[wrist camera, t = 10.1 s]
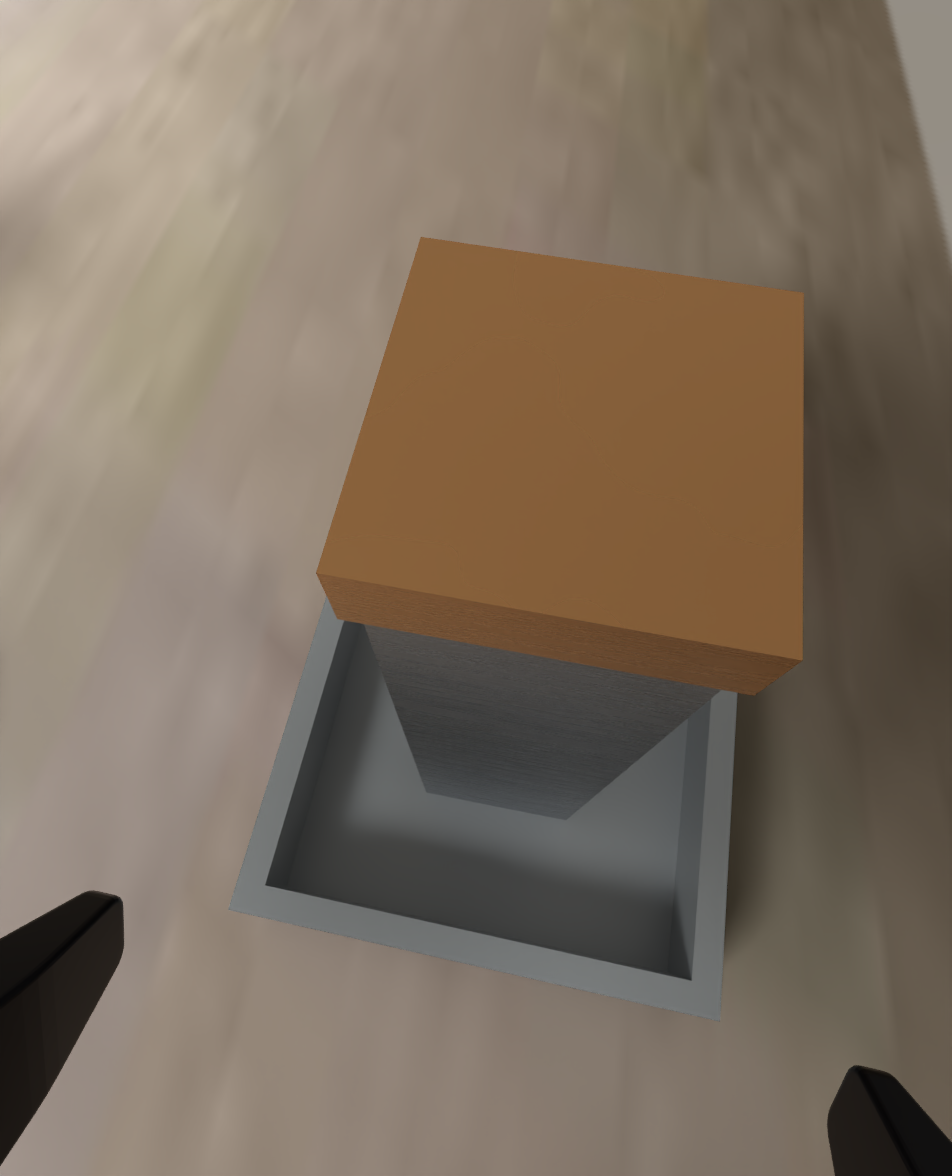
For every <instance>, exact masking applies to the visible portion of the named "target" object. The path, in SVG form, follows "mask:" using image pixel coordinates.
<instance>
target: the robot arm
mask: <svg viewBox="0 0 952 1176" xmlns="http://www.w3.org/2000/svg"><path fill="white" fill-rule="evenodd" d="M123 949H124V917H123V902H122V900H121V898H120V897H118V896H116V895H112V894H108V893H103V892H99V891H87V892H84V893H82V894H80V895H78V896H76V897H75V898H73V899H71V900H69V901H67V902H65V903H64V904H62V905H60V906H58V907H56V908H55V909H53V910H51V911H49V912H47V913H46V914H44V915H42V916H40V917H38V918H37V919H35V920H33V921H31V922H29V923H28V924H26V925H24V926H22V927H20V928H19V929H17V930H15V931H13V932H11V933H10V934H8V935H6V936H4V937H2V938H0V1166H1V1164H2V1163H3V1161H4V1160H5V1158H6V1157H7V1155H8V1154H9V1152H10V1151H11V1149H12V1148H13V1146H14V1145H15V1143H16V1142H17V1140H18V1139H19V1137H20V1136H21V1134H22V1133H23V1131H24V1130H25V1128H26V1127H27V1125H28V1124H29V1122H30V1121H31V1119H32V1118H33V1116H34V1114H35V1113H36V1111H37V1110H38V1108H39V1107H40V1105H41V1103H42V1102H43V1100H44V1099H45V1097H46V1096H47V1094H48V1092H49V1090H50V1089H51V1087H52V1085H53V1083H54V1082H55V1080H56V1078H57V1076H58V1075H59V1073H60V1071H61V1069H62V1068H63V1066H64V1064H65V1062H66V1060H67V1058H68V1056H69V1055H70V1053H71V1051H72V1049H73V1047H74V1045H75V1044H76V1042H77V1040H78V1038H79V1036H80V1034H81V1033H82V1031H83V1029H84V1027H85V1025H86V1023H87V1022H88V1020H89V1018H90V1016H91V1014H92V1012H93V1011H94V1009H95V1007H96V1005H97V1003H98V1001H99V1000H100V998H101V996H102V994H103V992H104V990H105V988H106V987H107V985H108V983H109V981H110V979H111V977H112V976H113V974H114V972H115V970H116V968H117V966H118V964H119V962H120V959H121V957H122V953H123ZM827 1129H828V1138H829V1143H830V1149H831V1155H832V1161H833V1167H834V1173H835V1176H952V1142H951V1141H950V1140H949V1139H948V1138H947V1136H946V1135H945V1134H944V1133H943V1132H942V1131H941V1130H940V1128H939V1127H938V1126H937V1125H936V1124H935V1123H934V1122H933V1120H932V1119H931V1118H930V1117H929V1116H928V1115H927V1114H926V1112H925V1111H924V1110H923V1109H922V1108H921V1107H920V1105H919V1104H918V1103H917V1102H916V1101H915V1100H914V1099H913V1097H912V1096H911V1095H910V1094H909V1093H908V1092H907V1091H906V1089H905V1088H904V1087H903V1086H902V1085H901V1084H900V1083H899V1081H898V1080H897V1079H896V1078H894V1077H893V1076H892V1075H891V1074H889V1073H887V1072H885V1071H881V1070H877V1069H873V1068H868V1067H864V1066H859V1065H855V1066H853V1067H851V1068H850V1069H849V1070H848V1071H847V1073H846V1075H845V1078H844V1080H843V1082H842V1084H841V1086H840V1088H839V1090H838V1092H837V1094H836V1097H835V1099H834V1101H833V1103H832V1105H831V1107H830V1110H829V1114H828V1121H827Z"/></svg>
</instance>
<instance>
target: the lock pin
mask: <svg viewBox="0 0 952 1176" xmlns="http://www.w3.org/2000/svg"><path fill="white" fill-rule="evenodd" d="M803 399H804V293H801V292H794V291H787V290H780V289H773V288H767V287H760V286H753V285H746V284H739V283H732V282H726V281H719V280H712V279H705V278H698V277H691V276H684V275H678V274H671V273H664V272H657V271H650V270H643V269H637V268H630V267H623V266H616V265H609V264H602V263H595V262H589V261H582V260H575V259H568V258H561V257H554V256H548V255H541V254H534V253H527V252H520V251H513V250H506V249H500V248H493V247H486V246H479V245H472V244H465V243H459V242H452V241H445V240H438V239H431V238H424V237H421V238H420V242H419V245H418V248H417V251H416V254H415V258H414V261H413V264H412V267H411V271H410V274H409V277H408V280H407V283H406V287H405V290H404V293H403V296H402V299H401V303H400V306H399V309H398V312H397V315H396V319H395V322H394V325H393V328H392V331H391V335H390V338H389V341H388V344H387V347H386V351H385V354H384V357H383V360H382V363H381V367H380V370H379V373H378V376H377V379H376V383H375V386H374V389H373V392H372V395H371V399H370V402H369V405H368V408H367V412H366V415H365V418H364V421H363V424H362V428H361V431H360V434H359V437H358V440H357V444H356V447H355V450H354V453H353V456H352V460H351V463H350V466H349V469H348V472H347V476H346V479H345V482H344V485H343V488H342V492H341V495H340V498H339V501H338V504H337V508H336V511H335V514H334V517H333V520H332V524H331V527H330V530H329V533H328V537H327V540H326V543H325V546H324V549H323V553H322V556H321V559H320V562H319V565H318V569H317V572H316V574H317V576H318V578H319V580H320V582H321V585H322V587H323V589H324V591H325V593H326V596H327V598H328V600H329V602H330V604H331V606H332V609H333V611H334V613H335V615H336V617H337V619H339V620H345V621H350V622H356V623H361V624H364V627H365V629H366V632H367V635H368V637H369V640H370V643H371V645H372V648H373V651H374V653H375V656H376V659H377V661H378V664H379V667H380V669H381V672H382V675H383V678H384V680H385V683H386V686H387V688H388V691H389V694H390V696H391V699H392V702H393V704H394V707H395V710H396V712H397V715H398V718H399V720H400V723H401V726H402V729H403V731H404V734H405V737H406V739H407V742H408V745H409V747H410V750H411V753H412V755H413V758H414V761H415V763H416V766H417V769H418V771H419V774H420V777H421V780H422V782H423V785H424V788H425V790H426V793H430V794H436V795H441V796H446V797H451V798H456V799H461V800H466V801H471V802H476V803H481V804H486V805H491V806H496V807H501V808H506V809H511V810H516V811H521V812H526V813H531V814H536V815H541V816H546V817H551V818H556V819H561V820H567V819H568V818H569V817H571V816H572V815H573V814H574V813H575V812H577V811H578V810H579V809H580V808H581V807H583V806H584V805H585V804H586V803H587V802H589V801H590V800H591V799H592V798H593V797H595V796H596V795H597V794H598V793H599V792H600V791H602V790H603V789H604V788H605V787H606V786H608V785H609V784H610V783H611V782H612V781H614V780H615V779H616V778H617V777H618V776H620V775H621V774H622V773H623V772H624V771H626V770H627V769H628V768H629V767H630V766H631V765H633V764H634V763H635V762H636V761H637V760H639V759H640V758H641V757H642V756H643V755H645V754H646V753H647V752H648V751H649V750H651V749H652V748H653V747H654V746H655V745H657V744H658V743H659V742H660V741H661V740H662V739H664V738H665V737H666V736H667V735H668V734H670V733H671V732H672V731H673V730H674V729H676V728H677V727H678V726H679V725H680V724H682V723H683V722H684V721H685V720H686V719H688V718H689V717H690V716H691V715H692V714H693V713H695V712H696V711H697V710H698V709H699V708H701V707H702V706H703V705H704V704H705V703H707V702H708V701H709V700H710V699H711V698H713V697H714V696H715V695H716V694H717V693H719V692H720V691H721V690H725V691H731V692H736V693H742V694H747V695H752V696H754V695H756V694H757V693H758V692H760V691H761V690H763V689H764V688H765V687H767V686H768V685H769V684H771V683H772V682H774V681H775V680H776V679H778V678H779V677H781V676H782V675H783V674H785V673H786V672H787V671H789V670H790V669H792V668H793V667H794V666H796V665H797V664H798V663H800V662H801V661H803Z"/></svg>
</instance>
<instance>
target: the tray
mask: <svg viewBox="0 0 952 1176" xmlns="http://www.w3.org/2000/svg"><path fill="white" fill-rule="evenodd" d="M736 710H737V693H736V692H731V691H725V690H721V691H720V692H719V693H717V694H716V695H715V696H714V697H713V698H711V699H710V700H709V701H708V702H707V703H705V704H704V705H703V706H702V707H701V708H699V709H698V710H697V711H696V712H695V713H693V714H692V715H691V716H690V717H689V718H688V719H686V720H685V721H684V722H683V723H682V724H680V725H679V726H678V727H677V728H676V729H674V730H673V731H672V732H671V733H670V734H668V735H667V736H666V737H665V738H664V739H662V740H661V741H660V742H659V743H658V744H657V745H655V746H654V747H653V748H652V749H651V750H649V751H648V752H647V753H646V754H645V755H643V756H642V757H641V758H640V759H639V760H637V761H636V762H635V763H634V764H633V765H631V766H630V767H629V768H628V769H627V770H626V771H624V772H623V773H622V774H621V775H620V776H618V777H617V778H616V779H615V780H614V781H612V782H611V783H610V784H609V785H608V786H606V787H605V788H604V789H603V790H602V791H600V792H599V793H598V794H597V795H596V796H595V797H593V798H592V799H591V800H590V801H589V802H587V803H586V804H585V805H584V806H583V807H581V808H580V809H579V810H578V811H577V812H575V813H574V814H573V815H572V816H571V817H569V818H568V819H567V820H561V819H556V818H551V817H546V816H541V815H536V814H531V813H526V812H521V811H516V810H511V809H506V808H501V807H496V806H491V805H486V804H481V803H476V802H471V801H466V800H461V799H456V798H451V797H446V796H441V795H436V794H430V793H426V790H425V788H424V785H423V782H422V780H421V777H420V774H419V771H418V769H417V766H416V763H415V761H414V758H413V755H412V753H411V750H410V747H409V745H408V742H407V739H406V737H405V734H404V731H403V729H402V726H401V723H400V720H399V718H398V715H397V712H396V710H395V707H394V704H393V702H392V699H391V696H390V694H389V691H388V688H387V686H386V683H385V680H384V678H383V675H382V672H381V669H380V667H379V664H378V661H377V659H376V656H375V653H374V651H373V648H372V645H371V643H370V640H369V637H368V635H367V632H366V629H365V627H364V624H361V623H356V622H350V621H345V620H339V619H337V617H336V615H335V613H334V611H333V609H332V606H331V604H330V602H329V600H328V598H327V596H326V600H325V603H324V606H323V609H322V612H321V615H320V619H319V622H318V625H317V628H316V631H315V635H314V638H313V641H312V644H311V647H310V651H309V654H308V657H307V660H306V663H305V667H304V670H303V673H302V676H301V679H300V682H299V686H298V689H297V692H296V695H295V698H294V702H293V705H292V708H291V711H290V714H289V718H288V721H287V724H286V727H285V730H284V733H283V737H282V740H281V743H280V746H279V749H278V753H277V756H276V759H275V762H274V765H273V769H272V772H271V775H270V778H269V781H268V785H267V788H266V791H265V794H264V797H263V800H262V804H261V807H260V810H259V813H258V816H257V820H256V823H255V826H254V829H253V832H252V836H251V839H250V842H249V845H248V848H247V852H246V855H245V858H244V861H243V864H242V867H241V871H240V874H239V877H238V880H237V883H236V887H235V890H234V893H233V896H232V899H231V903H230V906H229V909H228V910H232V911H236V912H240V913H245V914H249V915H254V916H258V917H262V918H267V919H271V920H276V921H280V922H284V923H289V924H293V925H298V926H302V927H306V928H311V929H315V930H320V931H324V932H328V933H333V934H337V935H342V936H346V937H350V938H355V939H359V940H364V941H368V942H372V943H377V944H381V945H386V946H390V947H394V948H399V949H403V950H408V951H412V952H416V953H421V954H425V955H430V956H434V957H438V958H443V959H447V960H452V961H456V962H460V963H465V964H469V965H474V966H478V967H482V968H487V969H491V970H496V971H500V972H504V973H509V974H513V975H518V976H522V977H526V978H531V979H535V980H540V981H544V982H548V983H553V984H557V985H562V986H566V987H570V988H575V989H579V990H584V991H588V992H592V993H597V994H601V995H606V996H610V997H614V998H619V999H623V1000H628V1001H632V1002H636V1003H641V1004H645V1005H650V1006H654V1007H658V1008H663V1009H667V1010H672V1011H676V1012H680V1013H685V1014H689V1015H694V1016H698V1017H702V1018H707V1019H711V1020H715V1021H720V1010H721V991H722V972H723V953H724V935H725V916H726V897H727V878H728V860H729V841H730V822H731V803H732V785H733V766H734V747H735V728H736Z"/></svg>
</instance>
